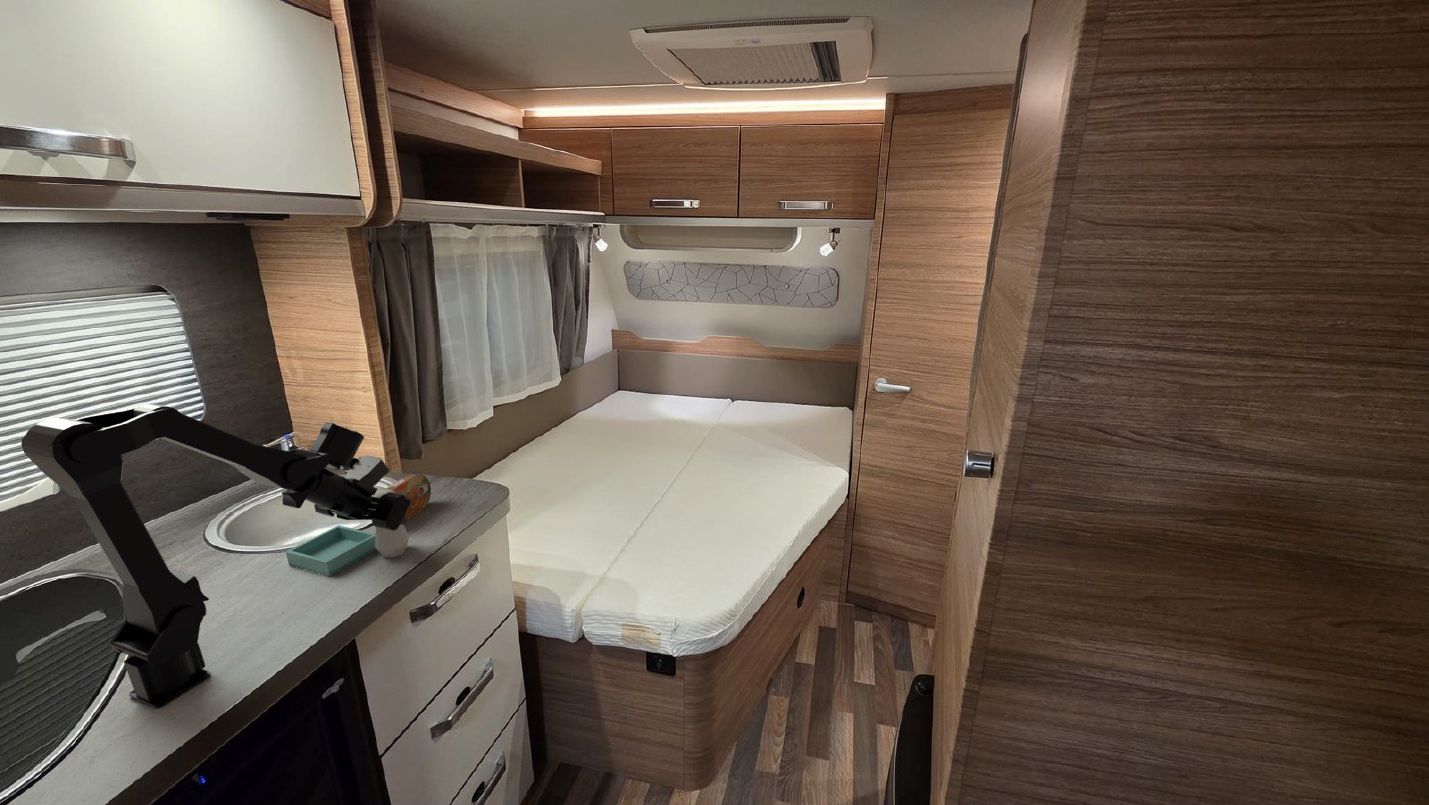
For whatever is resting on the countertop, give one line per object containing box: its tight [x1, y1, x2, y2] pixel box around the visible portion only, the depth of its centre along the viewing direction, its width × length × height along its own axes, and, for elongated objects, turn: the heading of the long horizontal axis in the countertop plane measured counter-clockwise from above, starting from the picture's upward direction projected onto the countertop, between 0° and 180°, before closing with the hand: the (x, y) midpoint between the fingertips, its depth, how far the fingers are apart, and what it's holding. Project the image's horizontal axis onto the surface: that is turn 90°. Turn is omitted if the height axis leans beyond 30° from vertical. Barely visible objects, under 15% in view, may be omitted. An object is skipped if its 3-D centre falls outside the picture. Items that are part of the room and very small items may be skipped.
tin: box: [383, 474, 432, 521], centre depth 127 cm, size 15×3×8 cm, turn 168°
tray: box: [285, 524, 378, 577], centre depth 113 cm, size 11×11×3 cm
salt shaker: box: [372, 488, 410, 559], centre depth 113 cm, size 6×6×13 cm
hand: (394, 519), depth 114 cm, fingers open, 5 cm apart
